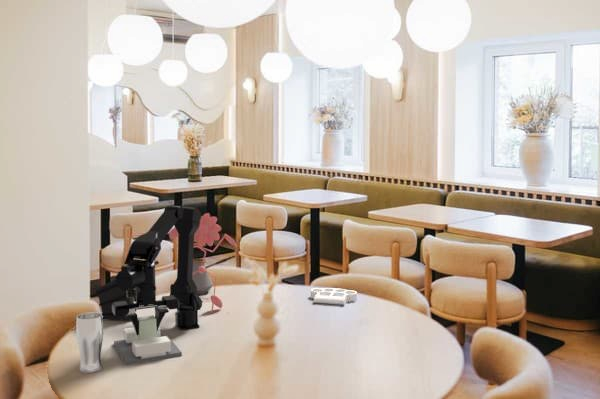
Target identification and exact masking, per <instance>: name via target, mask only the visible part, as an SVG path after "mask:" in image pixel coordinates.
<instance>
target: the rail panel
mask: <svg viewBox="0 0 600 399" xmlns="http://www.w3.org/2000/svg"><path fill="white" fill-rule="evenodd" d="M113 346H114V347H115V349H116V351H117V352H118V354H119V356H120V358H121V359H122V361H123V363H124V365H125V366H126V365H132V364H138V363H144V362H149V361H150V362H151V361H155V360H162V359H169V358H174V357H175V358H176V357H182V354H183V353H182V351H181V350H180V348H179V347H178V346H177V345H176V344H175V343H174V342H173V340H172V338H170V337H169V335H168V334H167V333H161V327H159V328H158V331H157V337H156V338H149V339H142V340H138V338H137V334H136V332H135V329H134V326H133V327H126V328H123V339H118V340H114V341H113Z"/></svg>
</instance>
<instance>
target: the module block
mask: <svg viewBox="0 0 600 399" xmlns="http://www.w3.org/2000/svg"><path fill="white" fill-rule="evenodd" d="M137 318H138V328H139V335H137V338H138V340H142V339H149V338H156V337H157V325H156V318H155V315H153V314H152V315H145V316H139V317H138V316H137Z"/></svg>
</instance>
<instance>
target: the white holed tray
mask: <svg viewBox="0 0 600 399" xmlns="http://www.w3.org/2000/svg"><path fill="white" fill-rule="evenodd" d="M357 292H358V291H356V290H353V289H350V290H349V289H345V288H335V287H324V288H323V287H321V288H320V287H315V288H311V289H310V299H312V298H313V299H312V300H313V303H315V304H328V305H337V306H338V305H340V306H346V304H347V303H349V302H348V301H354V300H356V301H357V299H358V293H357ZM354 302H355V301H354Z"/></svg>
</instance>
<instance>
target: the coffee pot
mask: <svg viewBox="0 0 600 399" xmlns="http://www.w3.org/2000/svg"><path fill="white" fill-rule="evenodd" d="M232 259H235V261H237V260H238V259H237V256H236V255H234V254H233V255H232V256H229V257H225V258H222V259H220V260H218V261H216V262H214V263H211V264H208V265H206V266H205V263H206V262H207V260H206V258H205V259H204V263H203V266H204V267H205V270H206V271H207V269H209V268H211V267H214V266H216V265H219V264H223V263H226V262H227V261H229V260H232ZM202 262H203V258H193V272H192V274H193V273H194V272H196V271H198V268H199V267H200V266H202ZM206 271H205V272H204V273H199V272H196V273H195V274H193V275H192V279H193V281H194V283H195V284H196V286H197V294H198V295H203V294H208V292H209V291H210V290H211V289H212V287H213V282H212V279H211V277H210V274H208V273H207V272H208V271H207V272H206Z"/></svg>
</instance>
